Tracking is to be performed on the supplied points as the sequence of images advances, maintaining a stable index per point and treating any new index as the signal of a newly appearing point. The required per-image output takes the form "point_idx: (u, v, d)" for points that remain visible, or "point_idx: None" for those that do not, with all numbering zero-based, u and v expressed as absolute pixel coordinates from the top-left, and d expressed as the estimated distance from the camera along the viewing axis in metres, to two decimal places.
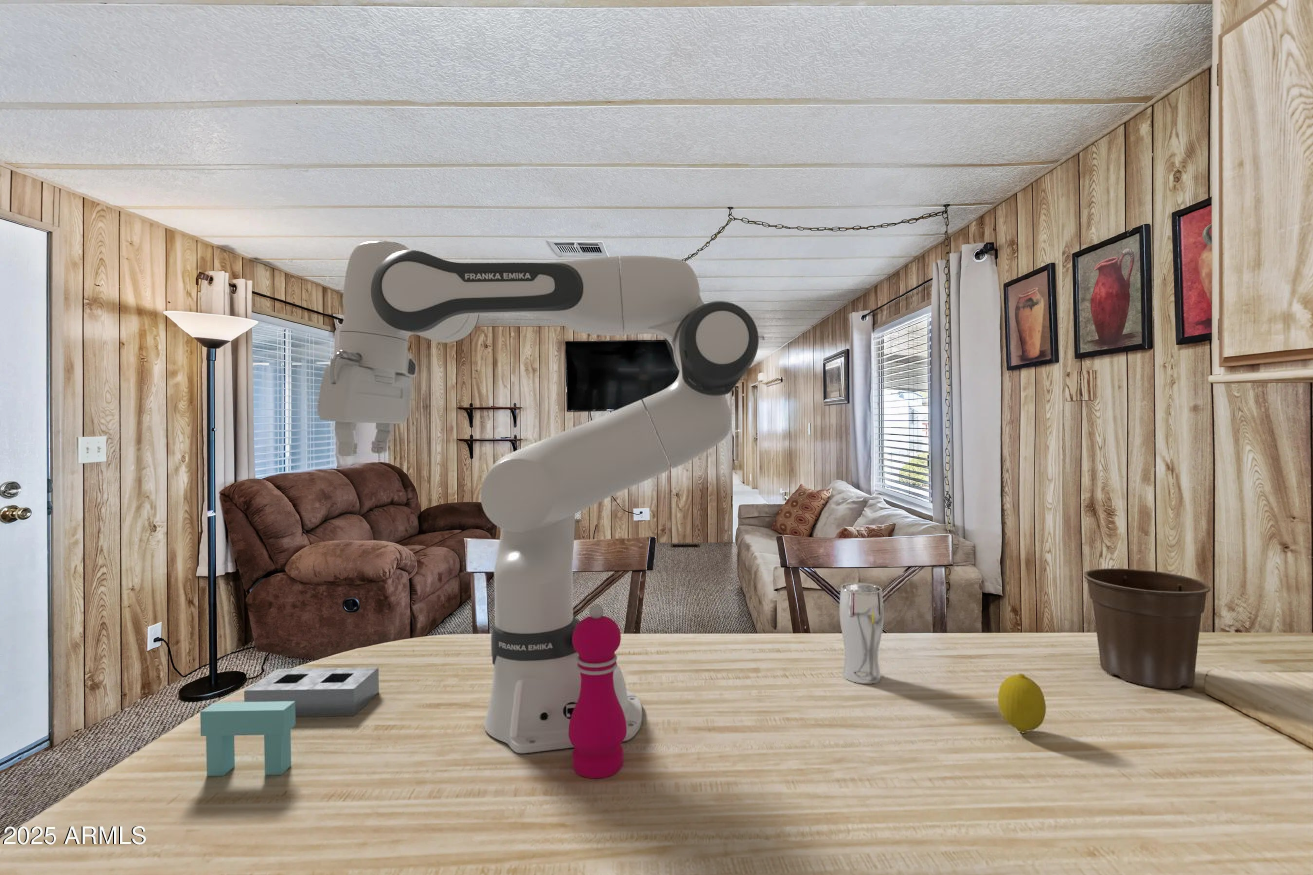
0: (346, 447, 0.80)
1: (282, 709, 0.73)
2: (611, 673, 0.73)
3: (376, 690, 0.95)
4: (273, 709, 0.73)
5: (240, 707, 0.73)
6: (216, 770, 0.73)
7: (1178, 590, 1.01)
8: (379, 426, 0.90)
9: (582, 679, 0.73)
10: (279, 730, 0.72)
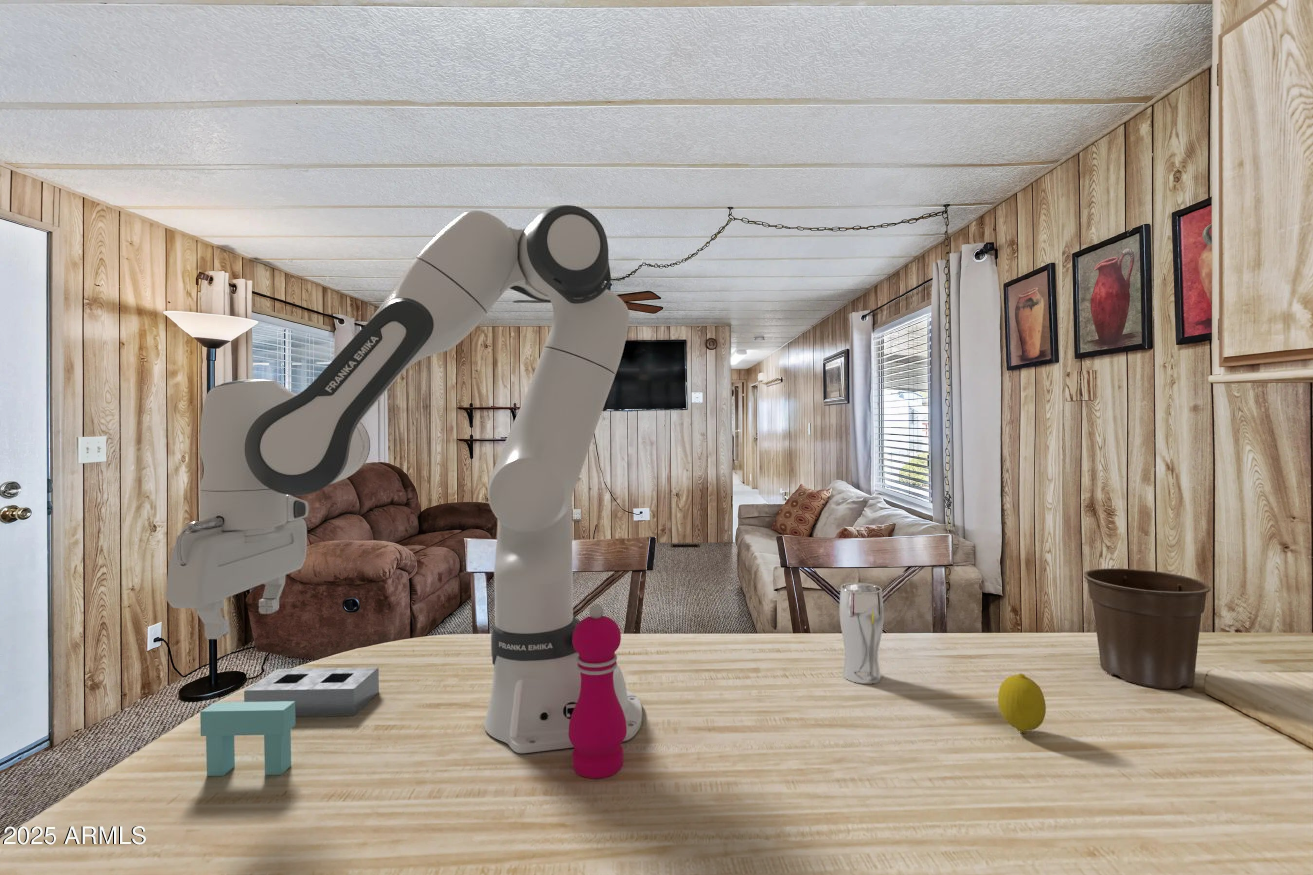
0: (214, 628, 0.68)
1: (282, 709, 0.73)
2: (611, 673, 0.73)
3: (376, 690, 0.95)
4: (273, 709, 0.73)
5: (240, 707, 0.73)
6: (216, 770, 0.73)
7: (1178, 590, 1.01)
8: None
9: (582, 679, 0.73)
10: (279, 730, 0.72)
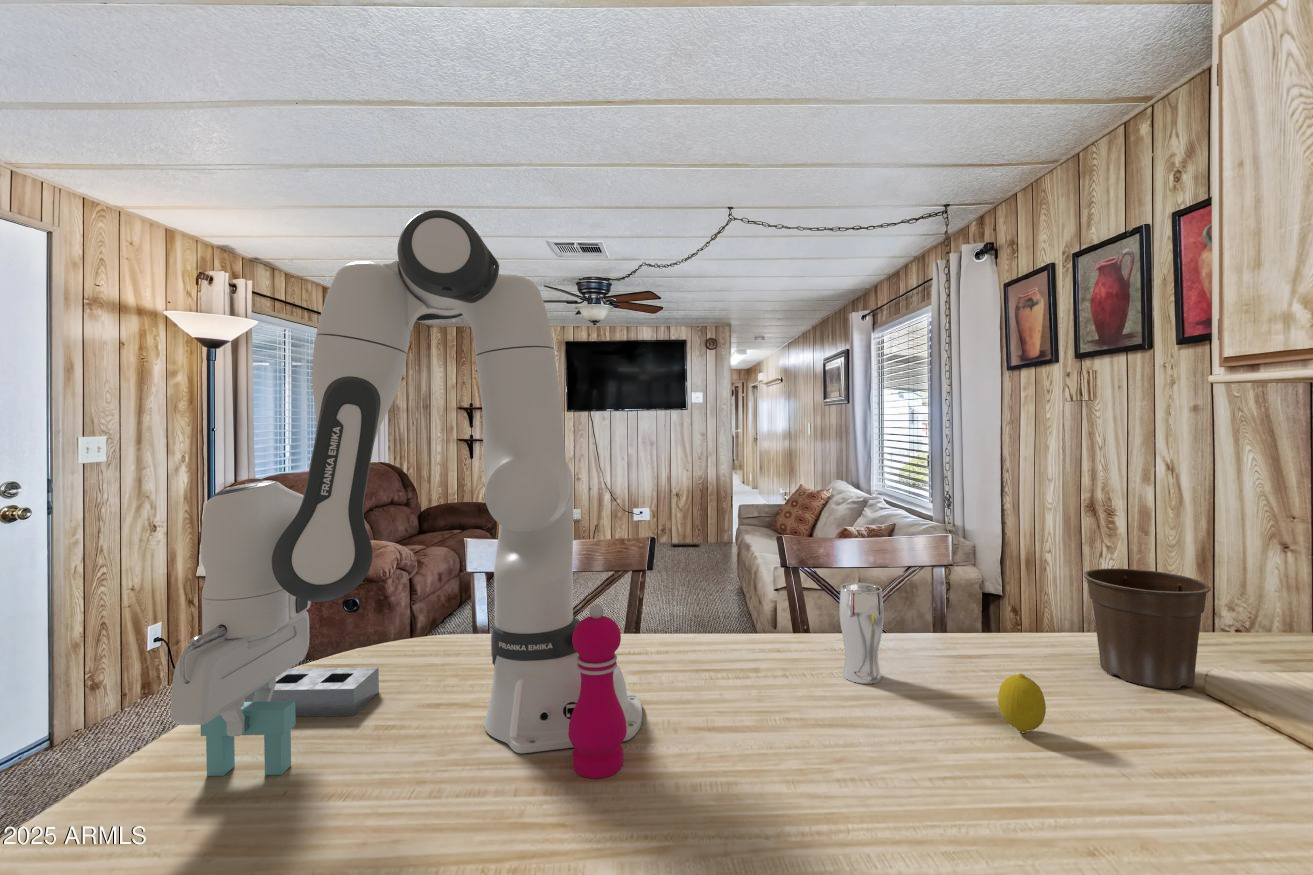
0: (235, 726, 0.71)
1: (282, 709, 0.73)
2: (611, 673, 0.73)
3: (376, 690, 0.95)
4: (273, 709, 0.73)
5: None
6: (216, 770, 0.73)
7: (1178, 590, 1.01)
8: None
9: (582, 679, 0.73)
10: (279, 730, 0.72)
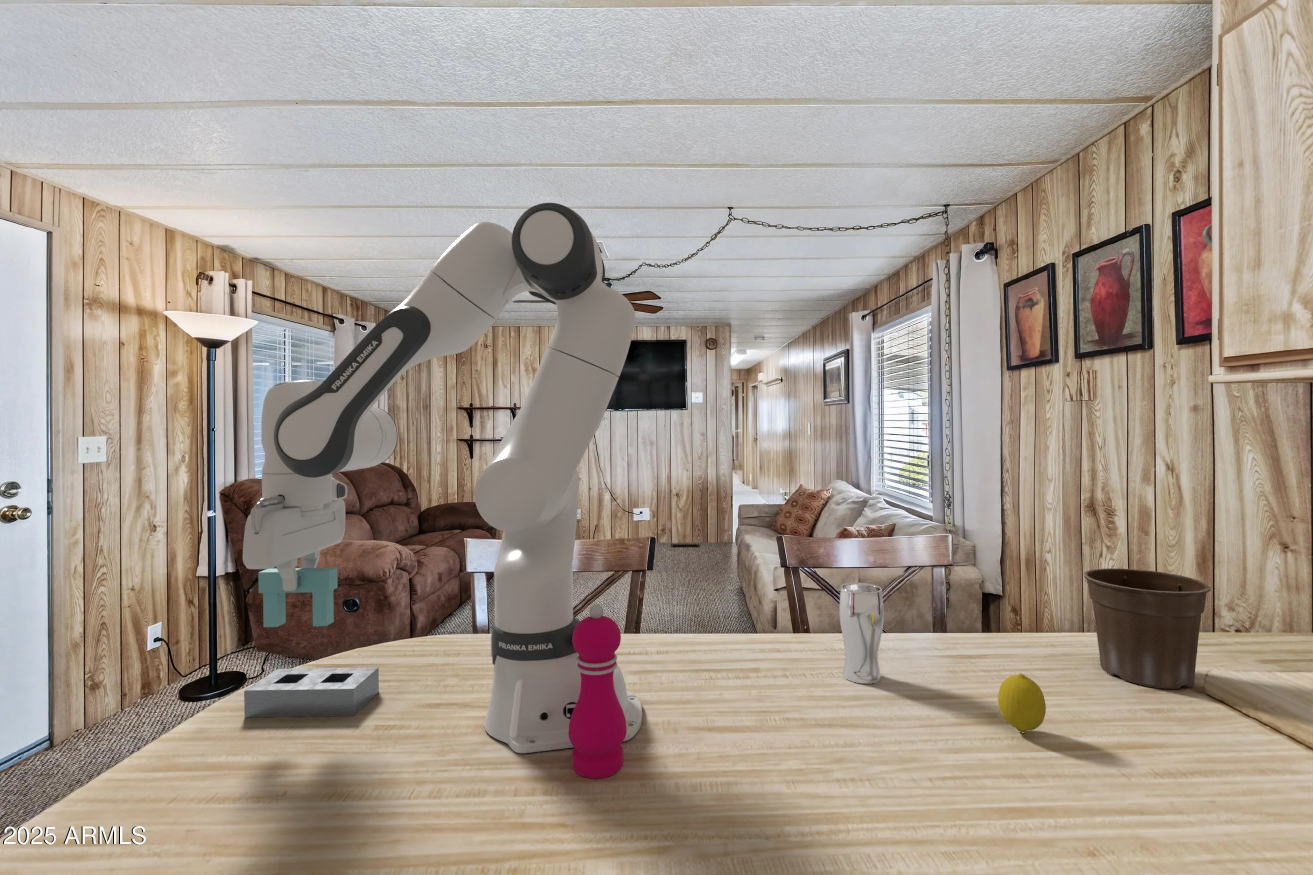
0: (290, 582, 0.85)
1: (328, 571, 0.87)
2: (611, 673, 0.73)
3: (376, 690, 0.95)
4: (320, 571, 0.86)
5: None
6: (271, 622, 0.86)
7: (1178, 590, 1.01)
8: None
9: (582, 679, 0.73)
10: (325, 588, 0.86)
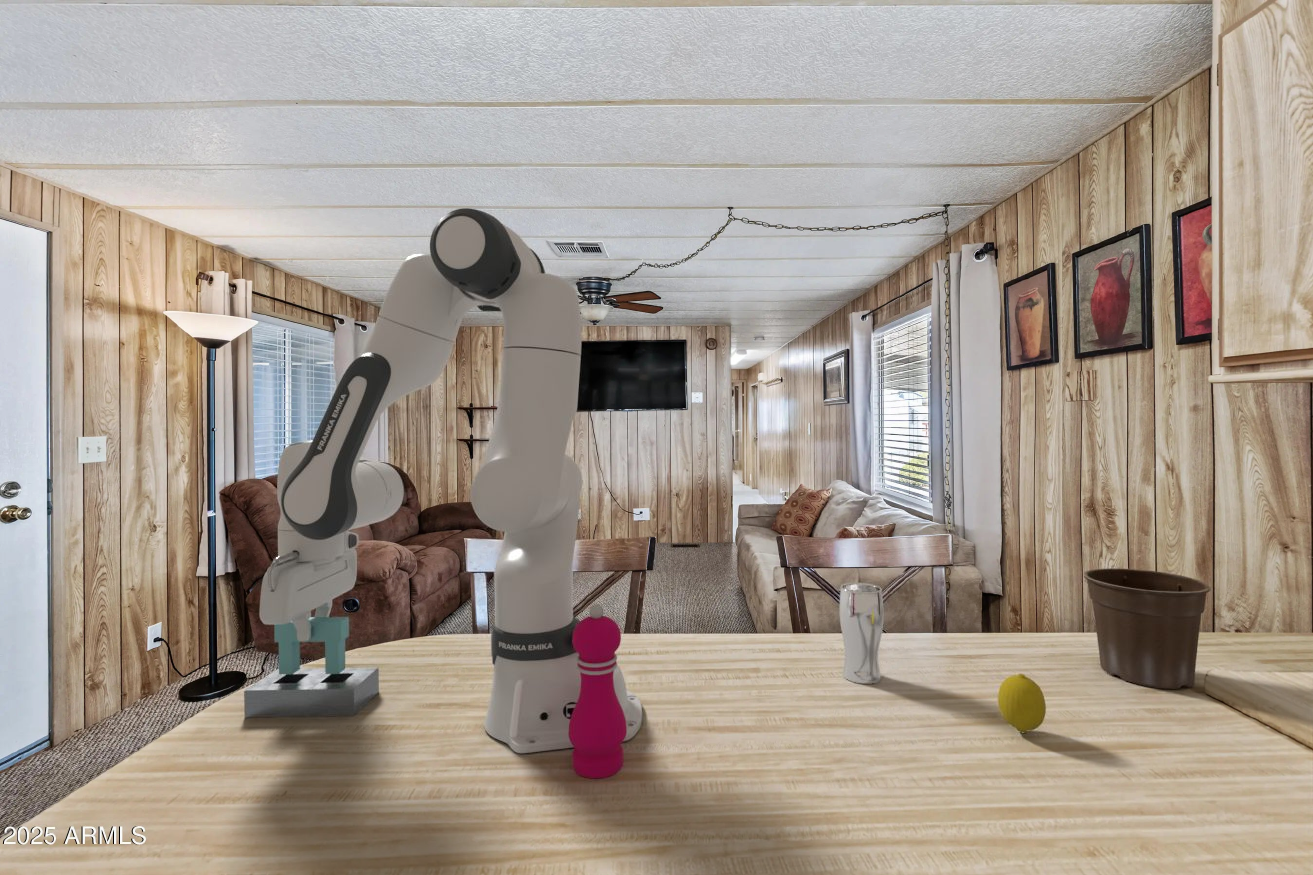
0: (304, 633, 0.89)
1: (339, 621, 0.91)
2: (611, 673, 0.73)
3: (376, 690, 0.95)
4: (332, 621, 0.90)
5: None
6: (286, 670, 0.91)
7: (1178, 590, 1.01)
8: None
9: (582, 679, 0.73)
10: (337, 638, 0.90)
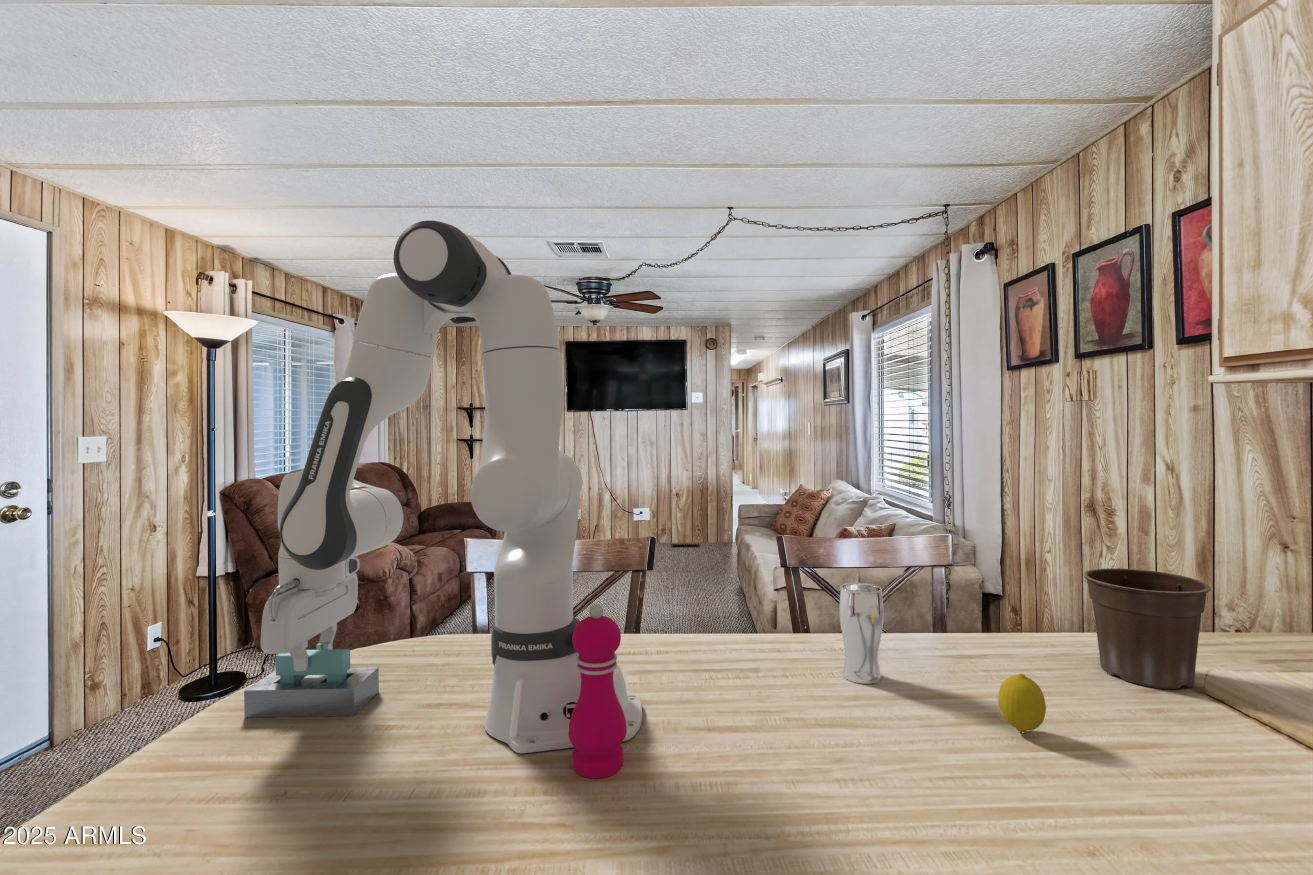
0: (301, 663, 0.88)
1: (341, 654, 0.91)
2: (611, 673, 0.73)
3: (376, 690, 0.95)
4: (333, 654, 0.90)
5: (307, 653, 0.91)
6: None
7: (1178, 590, 1.01)
8: None
9: (582, 679, 0.73)
10: (338, 671, 0.90)
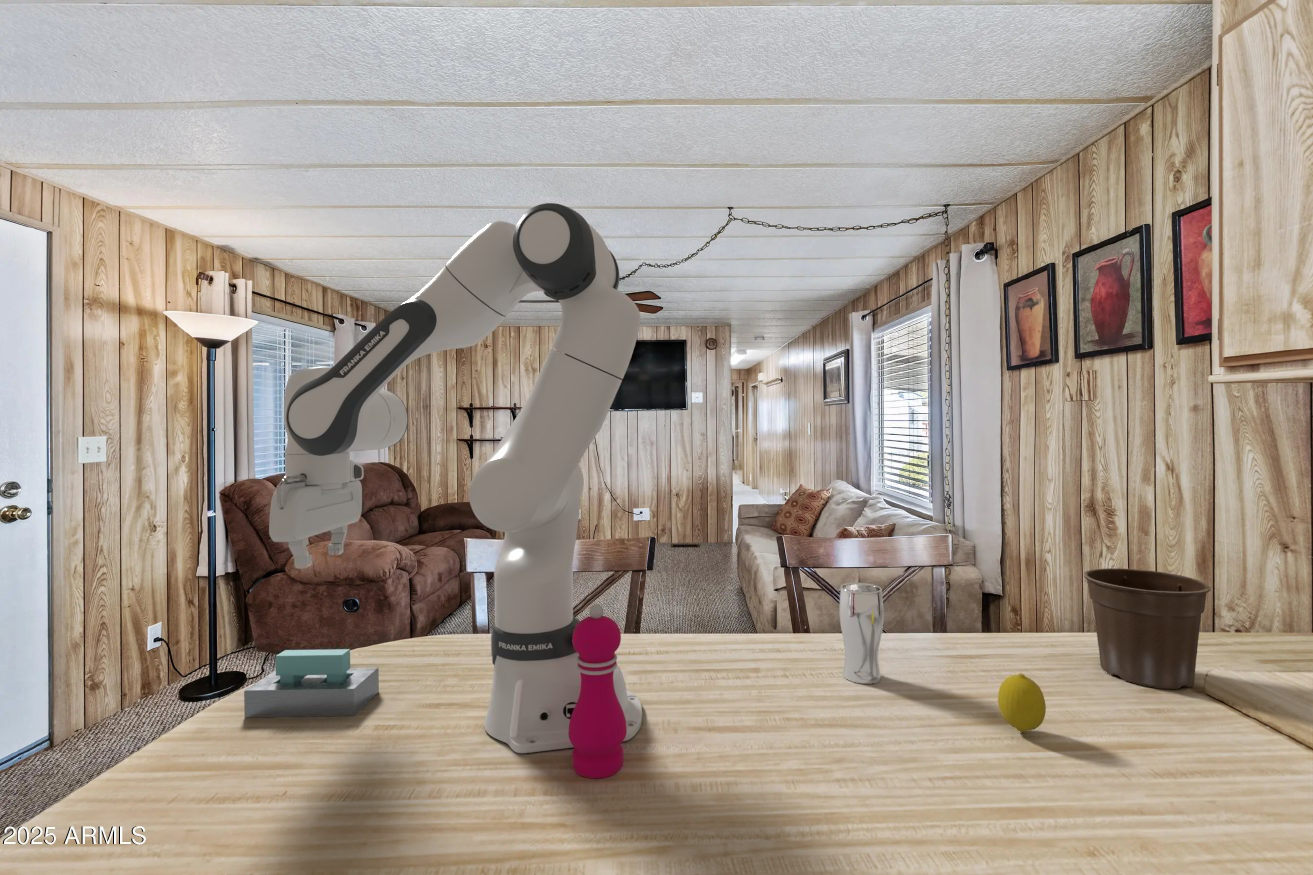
0: (301, 560, 0.88)
1: (341, 654, 0.91)
2: (611, 673, 0.73)
3: (376, 690, 0.95)
4: (333, 654, 0.90)
5: (307, 653, 0.91)
6: None
7: (1178, 590, 1.01)
8: (333, 529, 0.98)
9: (582, 679, 0.73)
10: (338, 671, 0.90)
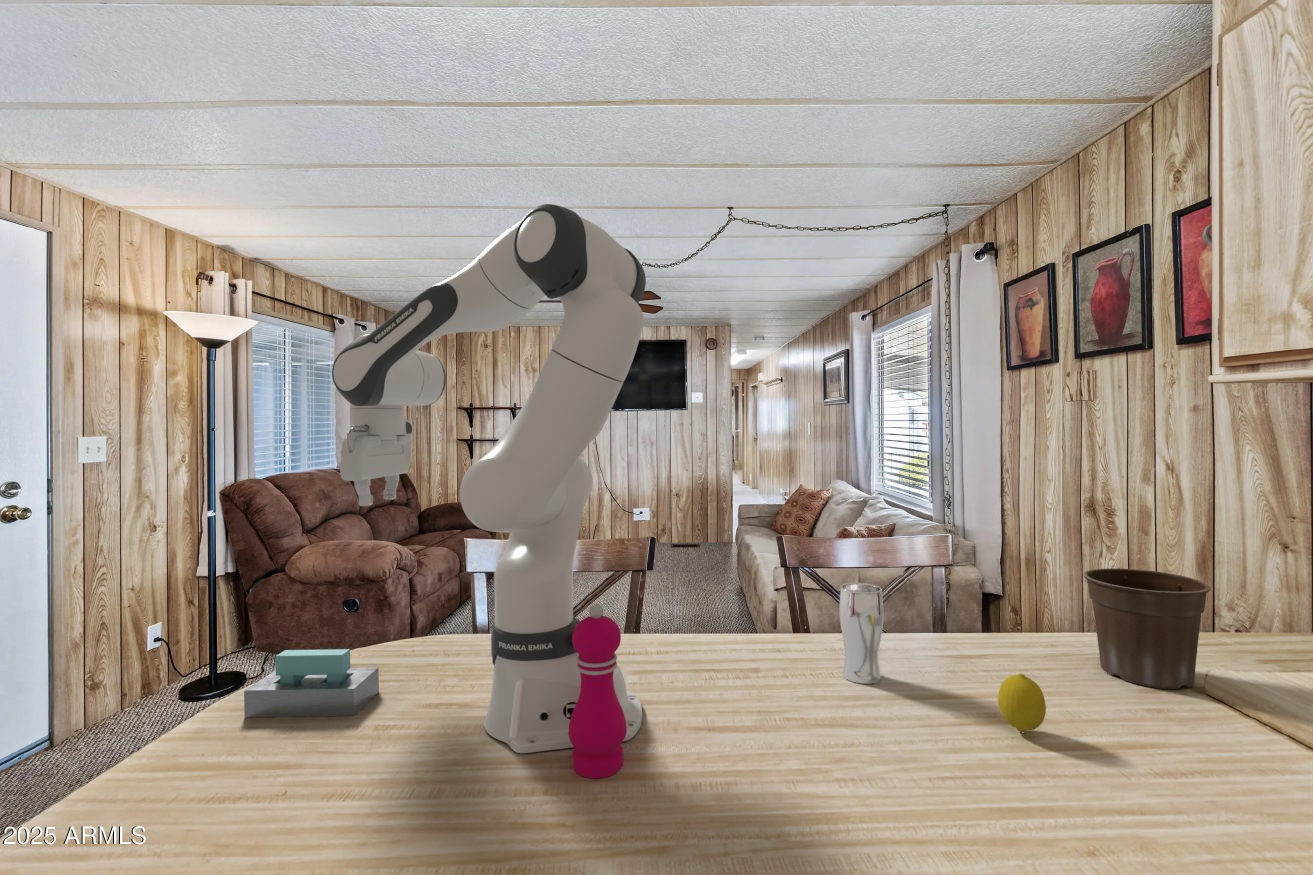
0: (364, 499, 1.02)
1: (341, 654, 0.91)
2: (611, 673, 0.73)
3: (376, 690, 0.95)
4: (333, 654, 0.90)
5: (306, 653, 0.91)
6: None
7: (1178, 590, 1.01)
8: (387, 477, 1.12)
9: (582, 679, 0.73)
10: (338, 671, 0.90)
